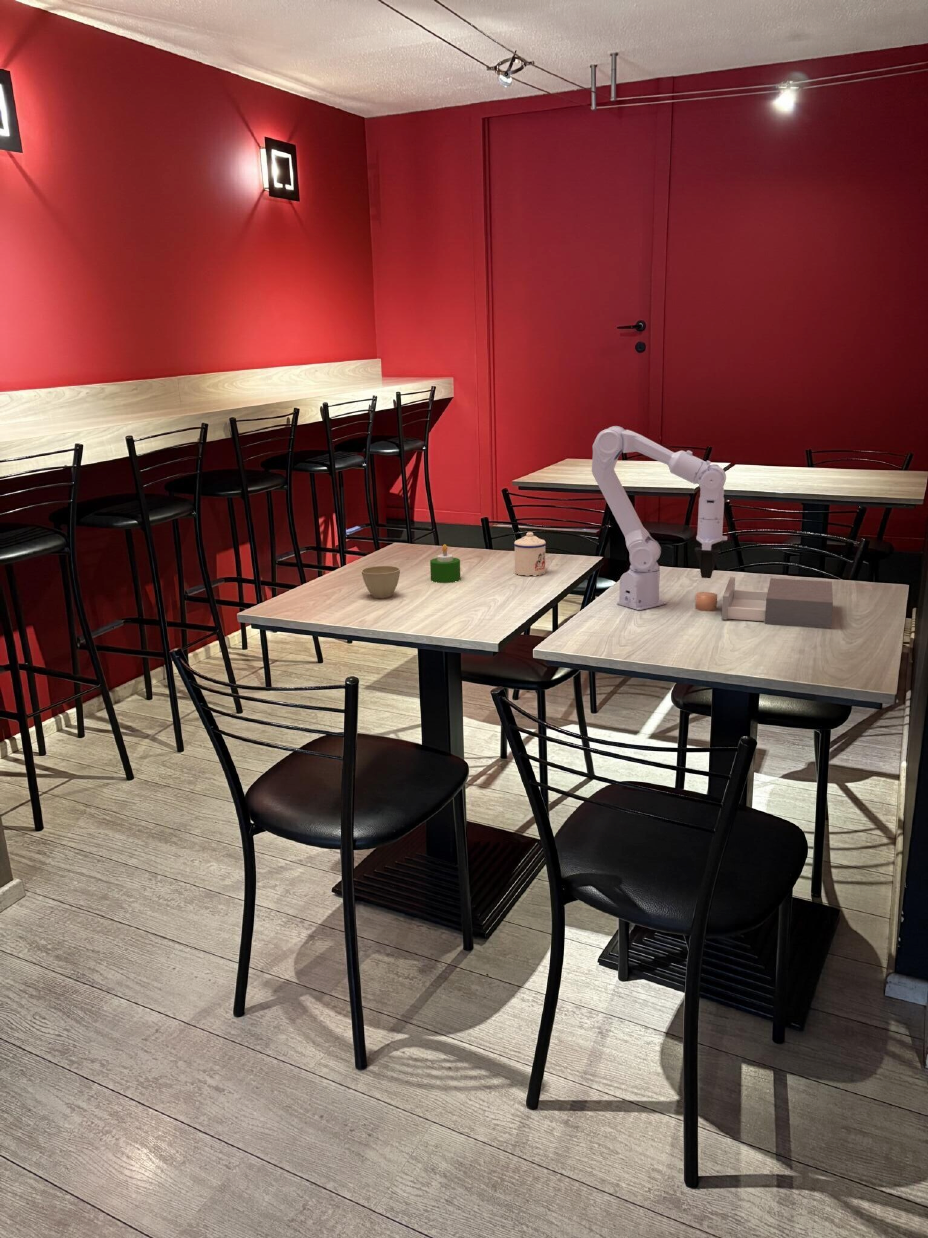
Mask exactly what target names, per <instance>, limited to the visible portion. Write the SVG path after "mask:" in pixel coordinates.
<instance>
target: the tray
mask: <svg viewBox="0 0 928 1238" xmlns="http://www.w3.org/2000/svg"><path fill="white" fill-rule="evenodd" d="M735 587H736V577H735V576H730V577H729V579H728V582H727V583H726V587H725V589H724V592H723V594H722V605H721V606H722V607H721V620H728V619H730V620H732V619H733V620H743V621H753V622H754V621H757V622H765V610H766V597H767V593H768V591H764V590H763V591H761V590H747V589H746V590H745V589H736V588H735Z"/></svg>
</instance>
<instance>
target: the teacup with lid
mask: <svg viewBox="0 0 928 1238" xmlns="http://www.w3.org/2000/svg"><path fill="white" fill-rule="evenodd" d="M546 545H547V542H546V541H545V539H541V538H539V537H537V536H536V535H534V533H533V532H531V531H529V532H527V533H526V535H525V536H522V537H521V538H518V539H517V540H515V541H514V543H513V546H514V574H515V575H517V574H518V576H520V575H528V576H527V577H530V576H529V575H539V576H542V575H541V574H543V575H545V573H546Z"/></svg>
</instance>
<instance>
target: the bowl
mask: <svg viewBox="0 0 928 1238" xmlns="http://www.w3.org/2000/svg"><path fill="white" fill-rule="evenodd" d="M400 573H401V568H400V567H399V566H395V565H374V566H368V567H367V566H366V567H365V568H362V569H361V577H362V579H363V582H364V584H365V587H366V588H367V591H368V592H369V594H370V596H372V598H374V599H388V598H390V597H391V598H392V596H393V595H394V593H395V592H396V591H395V590H396V589H397V586H398V583H399V580H400Z"/></svg>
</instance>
